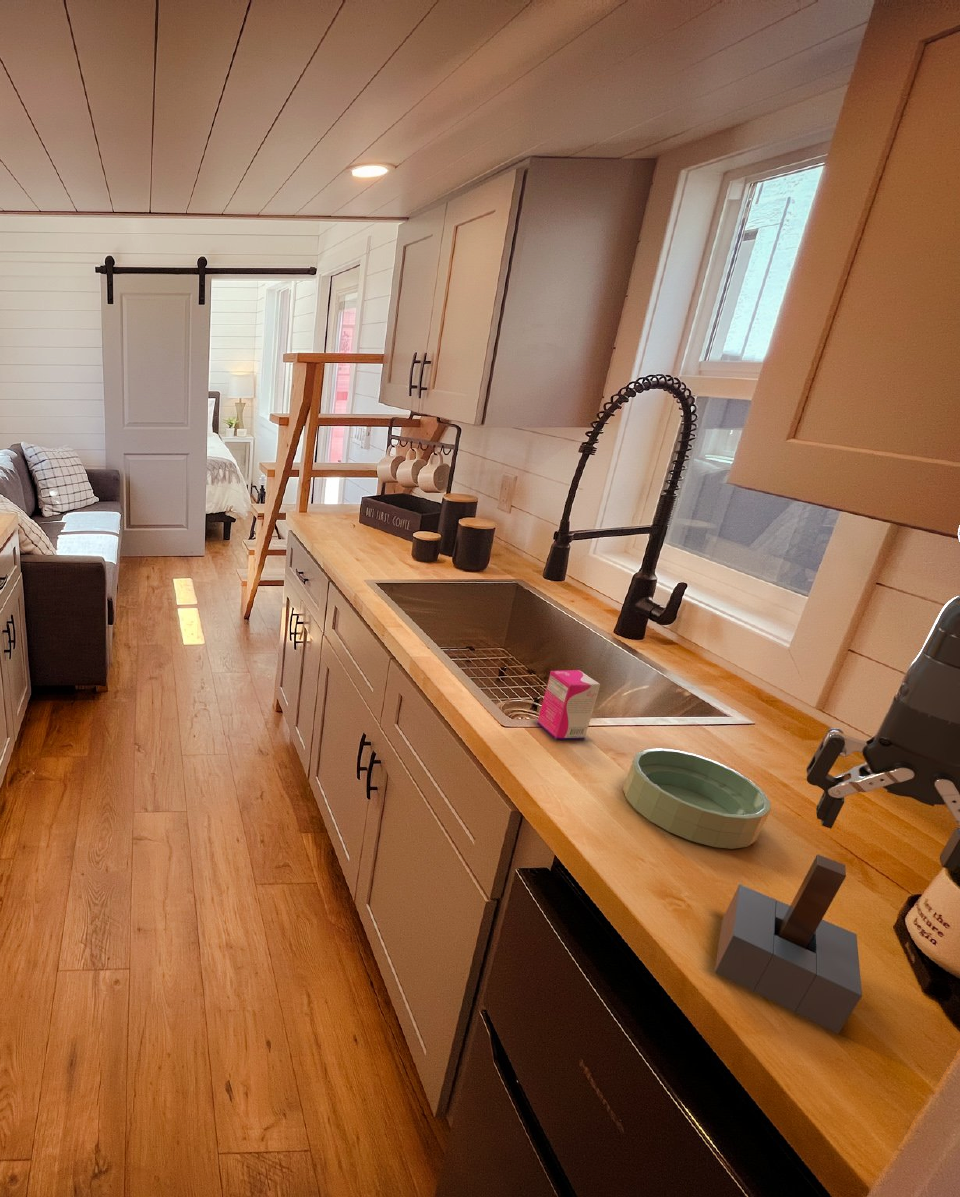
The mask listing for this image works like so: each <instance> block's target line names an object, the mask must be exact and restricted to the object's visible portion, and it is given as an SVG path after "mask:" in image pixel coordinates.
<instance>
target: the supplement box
mask: <svg viewBox="0 0 960 1197" xmlns="http://www.w3.org/2000/svg"><path fill="white" fill-rule="evenodd" d="M600 688H601V684H600V683H599V682H598V681H596V680H594V678H591V677H590V676H589V675H587V674H586V673H584V672H583V671H581V670H580V669H575V670H571V669H570V670H551V671H550V673H549V676H548V680H547V684H546V688H545V692H544V695H543V698H542V699H543V700H542V704H541V708H540V711H539V714H538V718H537V725H539V727H540V728H542V729H543V730H544V732H546V733H547V734H548V735H549V736H551V738H552V739H553V740H555V741H580V740H581V741H582V740H583V741H585V740H586V736H587V732H588V729H589V726H590V722H591V719H592V716H593V711H594V708H595V705H596V701H597V698H598V694H599V691H600Z"/></svg>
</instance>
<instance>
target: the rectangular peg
mask: <svg viewBox="0 0 960 1197" xmlns="http://www.w3.org/2000/svg"><path fill="white" fill-rule="evenodd" d="M846 878H847V868H846V864H844V863H841V862H839V861H836V860H833V859H831V858H829V857H826V856H823V855H820V854H816V856H815V858H814V859H813V862H812V864H811V865H810V867H809V869H808V871H807V873H806V875H805V877H804V879H803V880H802V882H801V884H800V886H799V888H798V890H797V892H796V893H795V896H794V898H793V900H792V902H791V903H790V907H789V909H788V911H787V913H786V915H785V917H784V919H783V920H782V922H781V924H780V926H779V928H778V930H777V932H776V934H775V935H776V936H778V937H780V938H782V939H785V940H787V941H789V942H791V943H793V944H796V945H798V946H800V947H802V948H804V949H806V947H807V946H808V944H809V942H810V940H811V938H812V937H813V935H814V933H815V931H816V929H817V928H818V926H819V924H820V922H821V920H824V919H823V918H824V917H825V915H826V913H827V912H828V910H829V908H830V906H831V904H832V903H833V901H834V899H835V898H836V896H837V894H838V892H839V890H840V888H841V886H842V884H843V883H844V881H845V879H846Z"/></svg>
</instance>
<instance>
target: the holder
mask: <svg viewBox="0 0 960 1197" xmlns="http://www.w3.org/2000/svg"><path fill="white" fill-rule="evenodd" d="M790 905H791V904H790ZM790 905H789V904H787V903H786V902H785V903H784V902H783V901H780V900H778V899H775V898H773V897H771V896H769V895H766V894H764V893H761V892H760V891H757V890H755V889H752V888H750V887H748V886H745V885H743V884H741V883H739V884H738V886H737V888H736V889H735V892H734V894H733V896H732V898H731V900H730V903H729V905H728V907H727V909H726V912H725V913H724V914H723V917H722V920H721V926H720V934H719V940H718V947H717V954H716V959H715V966H714V967H715V968H714V973H715V974H717V975H719V976H721V977H722V978H724V979H727V980H729V981H731V982H733V983H735V984H737V985H739V986H741V987H743V988H745V989H746V990H749V991H750V992H753V993H755V994H757V995H759V996H761V997H763V998H765V999H767V1000H769V1001H771V1002H772V1003H774V1004H776V1005H779V1006H780V1007H783V1008H784V1009H786V1010H788V1011H790V1012H793V1013H795V1014H796V1015H799V1016H800V1017H802V1018H805V1019H806V1020H808V1021H810V1022H812V1023H814V1024H817V1025H818V1026H820V1027H822V1028H824V1029H826V1030H828V1031H830V1032H832V1033H834V1034H836V1035H839V1034H840V1032H841V1030H842V1029H843V1027H844V1025H845V1024H846V1022H847V1021H848V1019H849V1018H850V1016H851V1014H852V1013H853V1011H854V1009H855V1008H856V1007H857V1005H858V1003H859V1002H860V1000H861V999H862V998H863V989H862V980H861V968H860V958H859V946H858V936H857V935H858V934H857V933H855V932H854V931H853V932H852V931H851V930H848V929H845V928H844V927H841V926H838V925H836V924H834V923H832V922H829V921H827V920H825V919H822V920H821V922H820V924H819V926H818V928H817V929H816V931H815V933H814V935H813V937H812V938H811V940H810V942H809V944H808V946H807V947H806V949H804V948H802V947H800V946H798V945H796V944H793V943H791V942H789V941H787V940H785V939H782V938H780V937H778V936H776V935H775V934H776V932H777V930H778V928H779V926H780V924H781V922H782V920H783V919H784V917H785V915H786V913H787V911H788V909H789V907H790Z"/></svg>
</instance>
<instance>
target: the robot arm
mask: <svg viewBox="0 0 960 1197" xmlns="http://www.w3.org/2000/svg"><path fill="white" fill-rule="evenodd" d="M957 536H958V540H959V541H960V526H959V527H958V532H957ZM853 753H861V754H862V757H863V759H864V761H865V763H862V764H859V765H856V766H853V767H851V768H850V769H849V770H847V771H845V772H842V773H839V774H835V775H831V774H829V773H830V771H831V769H832V768H833V767H834V765H835V762H836V761H837V760H838V758H839V757H841V758H847V757H849V756H850V755H851V754H853ZM805 771H806V782H807V783H808V784H809V785H811V786H813V787H814V786H815V787H818V788H820V789H821V790H823V792H822V795H821V797H820V799H819V801H818V803H817V805H816V807H815V810H816V811H815V813H816V819H817V820H820V822H821V827H825V828H828V829H831V830H832V828H833V827H834V825H835V822H836V820H837V818H838V816H839V815H840V812H841V810H842V808H843V806H844V804H845V802H846V801H845V797H848V796H852V795H854V794H857V793H867V792H871V791H874V790H877V789H880V788H883V789H884V790H886V792H887V793H889V794H892V795H896V796H898V797H907V798H912V799H913V800H916V801H917V802H919V803H922V804H925V805H928V806H930V807H935V805H937V806H943V805H946V807H947V809H948V810H949V812H950V814H951V815H952V817H953V819H954V820H955V822H956V823H957V824H958V826H959V827H957V826H956V827H955V828H954V830H953V832H952V833H951V835H950V836H949V839H948V840H947V842H946V844H944V845H945V846H944V847H943V849H942V851H941V853H940V854H939V862H940V864H941V867H942V868H944V869H947V870H949V871H955V870H956V868H957V867H958V868H960V595H959V596H956V597H953V598H952V599H950V600H948V602H947V603H946V604H945V605H944V606H943V607H942V608H941V611H940V613H939V614H938V616H937V618H936V620H935V622H934V624H933V626H932V628H931V630H930V632H929V634H928V636H927V638H926V640H925V642H924V644H923V647H922V649H921V650H920V652H919V653H918V654H917V656H916V658H915V659H914V660H913V661H912V662H911V664H910V666H909V667H908V668H907V670H906V672H905V674H904V676H903V678H902V680H901V682H900V684H899V686H898V688H897V689H896V693H895V694H894V696H893V699H892V700H891V703H890V705H889V707H888V709H887V711H886V713H885V715H884V717H883V719H882V721H881V724H880V725H879V727H878V729H877V731H876V733H875V735H874V736H873V737H871V738H869V739H867V740H866V741H865V740H863V739H859V738H857V737H853V736H850V735H847V734H844V732H843V730H842V729H840V728H837V727H833V728H829V729H828V730H827V731H826V733H825V735H824V736H823V738H822V740H821V742H820V744H819V745H818V747H817V749H816V751H815V752H814V754H813V756H812V758H811V760H810V761H809V763H808V765H807V766H806V769H805Z"/></svg>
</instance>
